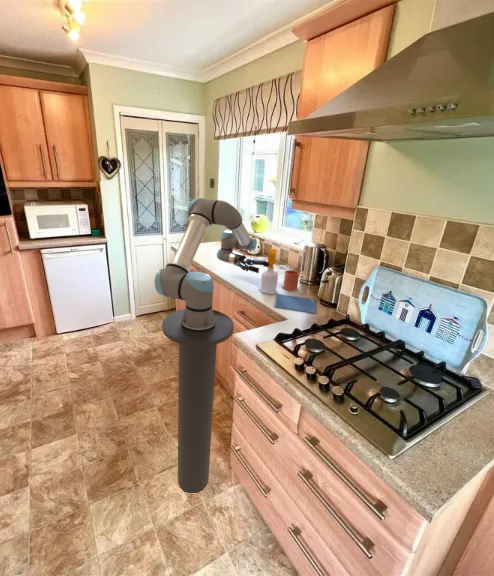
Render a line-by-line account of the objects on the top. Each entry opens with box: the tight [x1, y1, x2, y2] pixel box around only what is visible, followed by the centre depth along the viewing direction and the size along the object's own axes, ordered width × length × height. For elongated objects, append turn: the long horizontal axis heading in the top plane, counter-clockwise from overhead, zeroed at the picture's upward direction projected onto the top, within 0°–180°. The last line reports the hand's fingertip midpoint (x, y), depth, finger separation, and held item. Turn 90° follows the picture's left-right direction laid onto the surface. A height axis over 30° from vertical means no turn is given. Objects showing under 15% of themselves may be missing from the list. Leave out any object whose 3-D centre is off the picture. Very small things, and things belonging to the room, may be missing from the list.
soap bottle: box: [260, 248, 279, 295], centre depth 171 cm, size 9×9×25 cm
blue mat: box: [274, 293, 316, 315], centre depth 161 cm, size 20×18×1 cm
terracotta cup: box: [282, 269, 300, 292], centre depth 180 cm, size 8×8×10 cm
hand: (265, 268), depth 173 cm, fingers open, 13 cm apart
